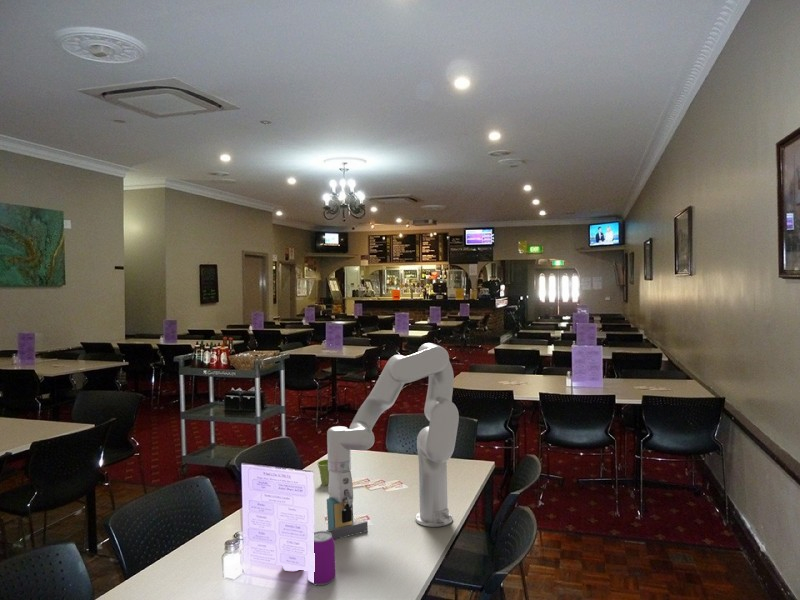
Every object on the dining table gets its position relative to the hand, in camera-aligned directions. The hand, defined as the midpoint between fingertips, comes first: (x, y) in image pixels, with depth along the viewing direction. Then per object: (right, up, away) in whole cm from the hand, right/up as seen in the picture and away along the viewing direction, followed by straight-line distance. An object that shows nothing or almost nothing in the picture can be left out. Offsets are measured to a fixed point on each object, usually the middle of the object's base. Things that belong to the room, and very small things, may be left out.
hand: (340, 516), depth 189 cm
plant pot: (-10, -4, +46) cm, 48 cm away
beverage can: (-2, -5, -32) cm, 33 cm away
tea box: (0, -4, 0) cm, 4 cm away
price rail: (+2, -4, -3) cm, 6 cm away
